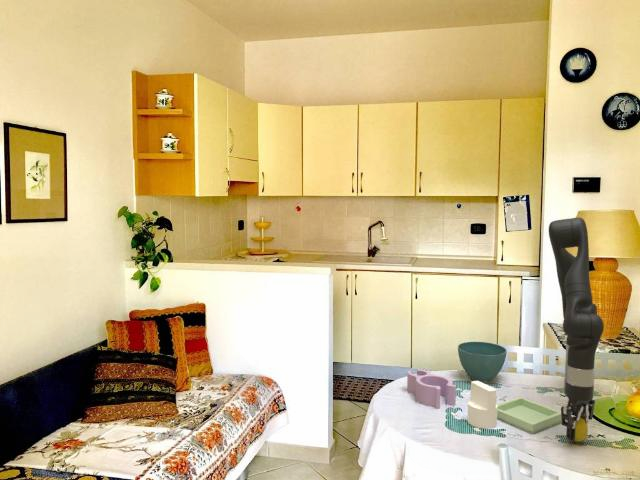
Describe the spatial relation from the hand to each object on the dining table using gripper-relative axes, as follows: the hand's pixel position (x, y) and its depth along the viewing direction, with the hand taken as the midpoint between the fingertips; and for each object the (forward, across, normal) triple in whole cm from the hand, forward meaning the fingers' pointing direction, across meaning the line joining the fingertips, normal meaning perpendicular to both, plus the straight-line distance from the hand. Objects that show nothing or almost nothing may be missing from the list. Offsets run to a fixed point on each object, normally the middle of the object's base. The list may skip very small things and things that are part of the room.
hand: (576, 436), depth 159 cm
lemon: (+2, 0, 0) cm, 2 cm away
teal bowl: (+1, -20, -51) cm, 55 cm away
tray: (+1, -2, -18) cm, 18 cm away
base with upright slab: (+2, +12, -24) cm, 27 cm away
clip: (+2, +11, -48) cm, 50 cm away
